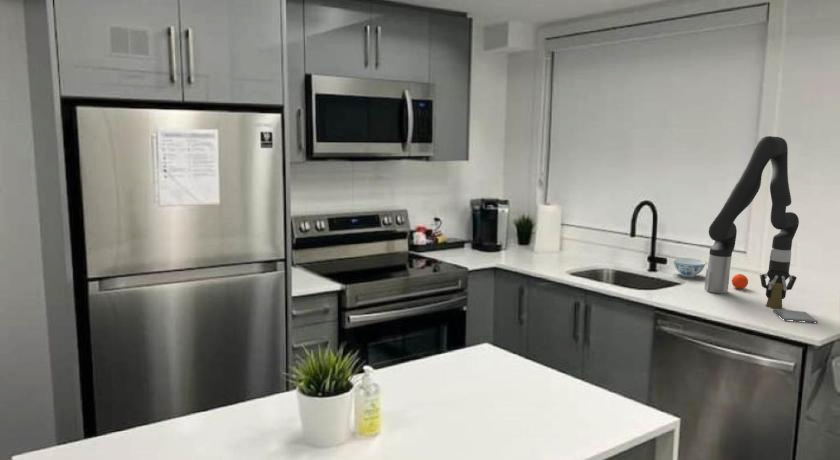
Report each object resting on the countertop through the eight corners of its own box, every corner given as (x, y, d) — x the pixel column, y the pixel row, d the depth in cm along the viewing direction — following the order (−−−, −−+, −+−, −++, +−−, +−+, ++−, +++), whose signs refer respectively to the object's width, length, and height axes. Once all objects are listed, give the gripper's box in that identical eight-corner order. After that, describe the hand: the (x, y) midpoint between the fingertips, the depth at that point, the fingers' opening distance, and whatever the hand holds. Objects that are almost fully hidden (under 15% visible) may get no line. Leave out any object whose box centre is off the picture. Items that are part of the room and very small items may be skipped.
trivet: (783, 321, 240) (783, 318, 240) (772, 311, 251) (773, 309, 251) (817, 323, 237) (817, 320, 237) (804, 314, 249) (805, 311, 249)
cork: (784, 309, 255) (787, 284, 253) (768, 308, 256) (772, 283, 254) (779, 305, 261) (782, 280, 259) (763, 304, 262) (766, 279, 260)
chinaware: (683, 270, 319) (684, 256, 317) (710, 277, 307) (711, 262, 305) (665, 274, 311) (667, 259, 309) (692, 281, 298) (694, 265, 297)
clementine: (733, 285, 292) (734, 271, 290) (749, 288, 287) (751, 273, 286) (729, 288, 286) (730, 274, 284) (745, 291, 281) (747, 276, 280)
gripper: (764, 260, 252) (759, 299, 255) (802, 262, 249) (797, 302, 253) (758, 256, 260) (754, 294, 263) (795, 258, 257) (790, 297, 260)
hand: (775, 298), depth 258 cm, fingers closed on cork, 4 cm apart
